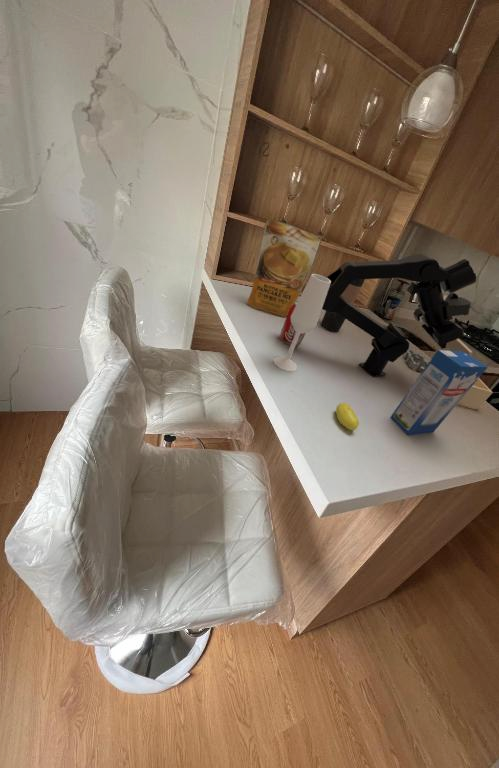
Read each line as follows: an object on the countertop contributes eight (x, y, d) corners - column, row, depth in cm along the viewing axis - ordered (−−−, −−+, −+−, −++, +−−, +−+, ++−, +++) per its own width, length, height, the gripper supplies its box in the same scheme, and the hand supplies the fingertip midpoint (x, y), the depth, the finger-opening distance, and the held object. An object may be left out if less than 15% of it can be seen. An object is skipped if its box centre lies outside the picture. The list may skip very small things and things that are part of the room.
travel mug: (335, 335, 117) (362, 281, 106) (316, 325, 119) (340, 271, 108) (342, 330, 122) (367, 278, 112) (324, 321, 125) (347, 269, 114)
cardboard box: (447, 401, 99) (462, 383, 95) (431, 379, 109) (444, 362, 105) (476, 410, 100) (492, 392, 96) (458, 387, 110) (472, 371, 106)
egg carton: (427, 376, 111) (434, 366, 109) (406, 368, 111) (413, 358, 109) (420, 362, 120) (427, 353, 118) (401, 355, 120) (407, 345, 118)
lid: (463, 382, 95) (460, 382, 95) (445, 361, 105) (442, 361, 105) (472, 352, 90) (469, 352, 90) (452, 333, 99) (449, 333, 100)
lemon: (345, 412, 78) (352, 399, 76) (357, 436, 72) (366, 423, 70) (329, 409, 77) (336, 396, 75) (340, 433, 71) (348, 420, 69)
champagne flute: (301, 367, 89) (340, 283, 76) (287, 373, 85) (325, 284, 71) (283, 355, 92) (317, 271, 79) (268, 359, 88) (302, 272, 75)
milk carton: (407, 435, 78) (461, 366, 67) (389, 417, 82) (437, 349, 71) (433, 432, 82) (488, 367, 71) (415, 415, 87) (464, 351, 76)
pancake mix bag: (243, 298, 119) (267, 216, 104) (292, 314, 121) (323, 235, 106) (241, 305, 113) (266, 219, 98) (293, 321, 115) (326, 239, 100)
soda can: (275, 340, 99) (289, 303, 92) (282, 333, 104) (296, 297, 98) (296, 350, 97) (312, 313, 91) (302, 342, 103) (317, 307, 97)
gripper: (482, 299, 78) (490, 350, 86) (447, 276, 94) (457, 322, 101) (433, 319, 82) (445, 367, 89) (407, 294, 97) (419, 337, 104)
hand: (442, 346), depth 96 cm, fingers closed
